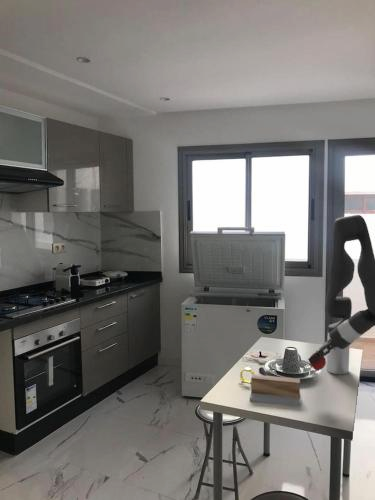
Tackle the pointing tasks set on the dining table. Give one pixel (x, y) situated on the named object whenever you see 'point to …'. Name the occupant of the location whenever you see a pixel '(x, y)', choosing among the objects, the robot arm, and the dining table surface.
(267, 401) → the ridge base
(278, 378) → the ridge
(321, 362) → the onion
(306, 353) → the dining table surface
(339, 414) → the dining table surface
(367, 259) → the robot arm
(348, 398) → the dining table surface
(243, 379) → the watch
